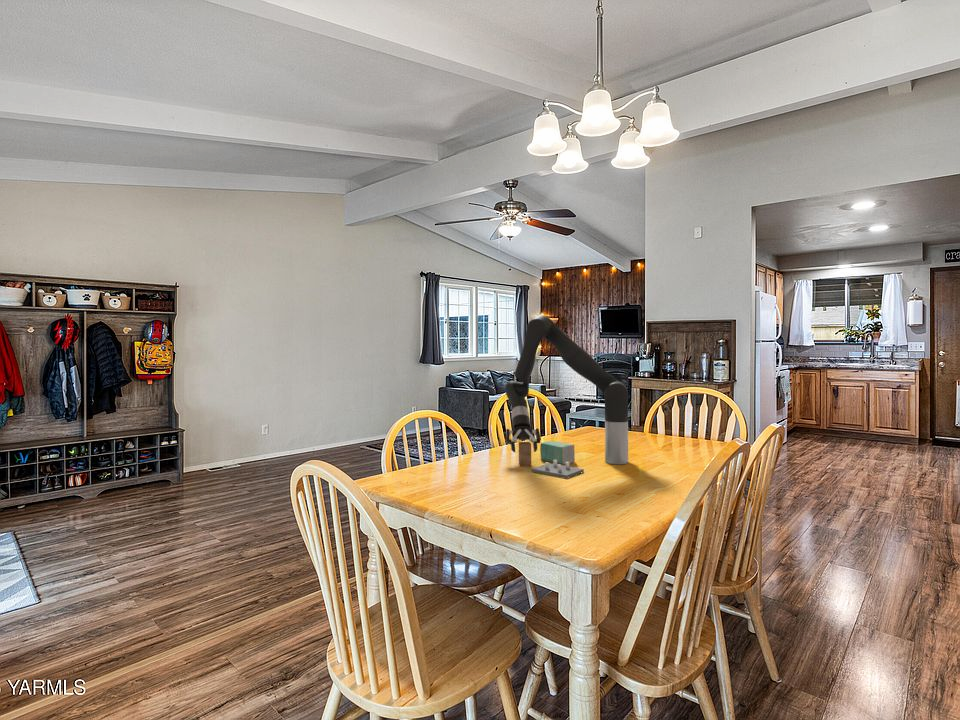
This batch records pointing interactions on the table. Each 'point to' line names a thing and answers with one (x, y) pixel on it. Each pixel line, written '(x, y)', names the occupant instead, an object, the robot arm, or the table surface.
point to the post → (524, 453)
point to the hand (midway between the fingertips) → (524, 451)
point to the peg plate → (557, 469)
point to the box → (557, 452)
